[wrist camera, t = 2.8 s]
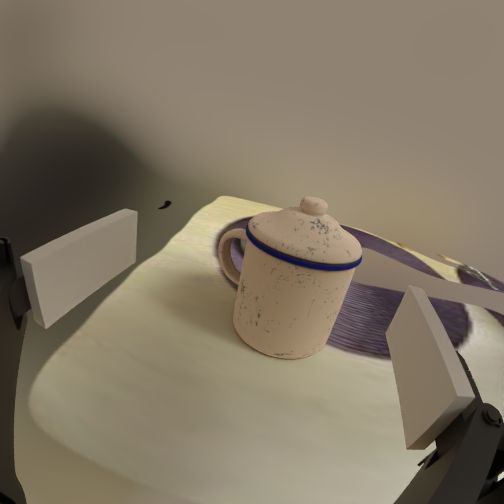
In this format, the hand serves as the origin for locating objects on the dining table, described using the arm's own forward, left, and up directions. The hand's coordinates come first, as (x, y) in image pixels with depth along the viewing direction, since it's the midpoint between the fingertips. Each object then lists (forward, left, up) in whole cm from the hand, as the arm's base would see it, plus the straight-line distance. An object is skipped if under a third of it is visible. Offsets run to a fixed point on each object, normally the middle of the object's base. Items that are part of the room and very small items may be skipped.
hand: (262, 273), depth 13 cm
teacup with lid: (0, -10, -10) cm, 14 cm away
